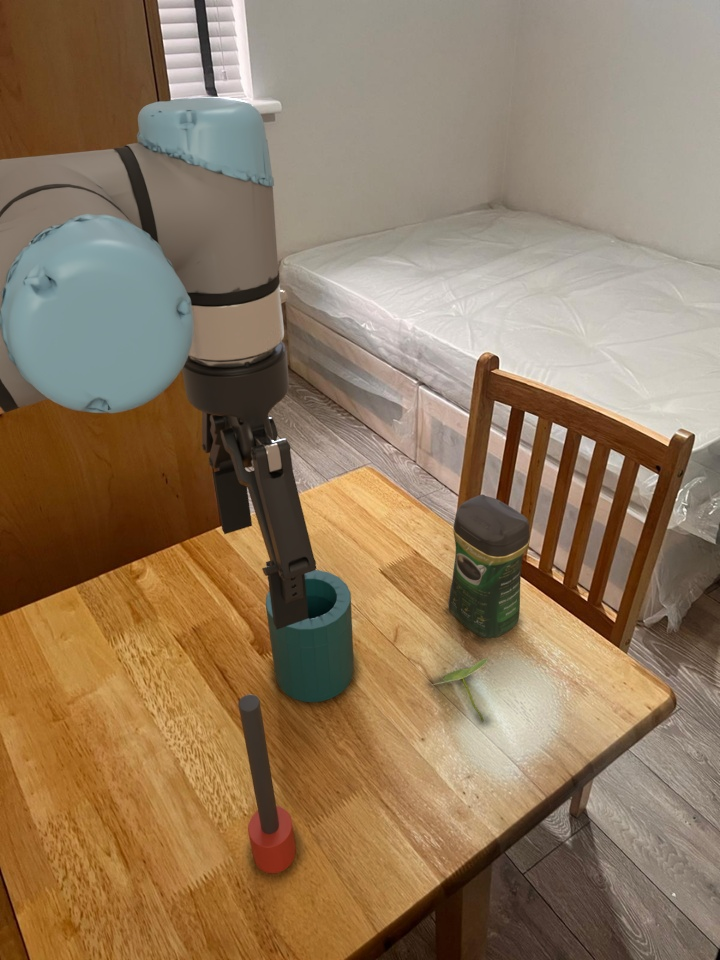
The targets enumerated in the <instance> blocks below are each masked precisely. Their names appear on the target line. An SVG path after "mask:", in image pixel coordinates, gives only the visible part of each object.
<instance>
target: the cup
mask: <svg viewBox="0 0 720 960" xmlns="http://www.w3.org/2000/svg"><path fill="white" fill-rule="evenodd" d="M305 585H306V596H307V608H308V619H305V620H302V621H300V622H297V623H294V624H291V625H289V626H286V627H283V628H280V629H278V630H277V629H276V627H275V625H274V622H273V614H272V606H271V598H270V590H268V592H267V594H266V598H265V612H266V619H267V626H268V631H269V632H268V633H269V641H270V647H271V648H270V649H271V654H272V655H271V656H272V661H273V662H272V663H273V669H274V674H275V679H276V683H277V685H278V687H279V688H280V689H281V691H282V692H283V693H284V694H285V695H287V696H288V697H290V698H292V699H294V700H296V701H300V702H304V703H321V702H325V701H327V700H331V699H333V698H335V697H336V696H338V695H340V694H342V692H344V691H345V690H346V689H347V687H348V686H349V685H350V683H351V681H352V679H353V677H354V672H355V669H354V668H355V667H354V666H355V665H354V663H355V662H354V640H353V639H354V638H353V637H354V636H353V615H352V595H351V591H350V588H349V586H348V585H347V583H346V582H345V581H344V580H342V578H341V577H340V576H337V575H335V574H334V573H331V572H329V571H325V570H321V569H316V570H314V571H311V572H308V573H306V574H305Z"/></svg>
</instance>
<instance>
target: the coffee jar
mask: <svg viewBox="0 0 720 960" xmlns="http://www.w3.org/2000/svg"><path fill="white" fill-rule="evenodd" d="M454 517H455V518H454V522H453V527H452V532H453V539H454V543H455V544H454V545H455V555H454V563H453V571H452V572H453V573H452V579H451V585H450V590H449V598H448V610H449V612H450V613H451V615H452V616H453V618H455V619H456V620H457V621H458V622H459V623H460V624H461V625H463V626H464V627H465V628H467V630H469V631H470V632H472V633H473V634H475V635H476V636H478V637H481V638H483V639H495V638H499V637H502V636H503V635H505V634H508V632H510V631H512V630H513V629H514V628H515V627H516V626H517V624H518V623H519V620H520V619H519V618H520V610H521V609H520V608H521V579H522V564H523V563H522V562H523V556H524V554H525V553H526V551H527V549H528V547H529V544H530V521H529V519H528V517H526V516H525V515H524V514H522V513H521V512H519V511H517V510H516V509H515V508H513V507H511V506H510V505H508V504H506V503H505V502H503V501H502V500H500V499H498V498H495V497H492V496H488V495H485V494H483V493H481V494H479V495H476V496H474V497H472V498H469V499H468V500H466V501H464V502H462V503H461V504H460V505H459V507H458V509H457V510H456V513H455V516H454Z"/></svg>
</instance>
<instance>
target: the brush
mask: <svg viewBox="0 0 720 960" xmlns="http://www.w3.org/2000/svg"><path fill="white" fill-rule="evenodd" d="M260 701H261V700H260V698H259V697H258V696H257V695H256V694H245V695H243V696H242V697H241V698H240V699H239V701H238V710H239V715H240V721H241V727H242V732H243V738H244V743H245V748H246V755H247V759H248V764H249V770H250V776H251V780H252V786H253V791H254V797H255V801H256V802H255V803H256V809H257V811H256V812H254V813H253V815H252V816H251V818H250V819H249V822H248V825H247V826H248V827H247V828H248V829H247V832H248V837H249V838H248V839H249V843H250V847H251V853H252V858H253V861H254V863H255V865H256V867H257V868H258V869H259V870H260V871H262V872H264V873H267V874H278V873H281V872H283V871H285V870H286V869H287V868H288V867H290V866H291V865H292V863H293V862H294V860H295V857H296V853H297V847H296V839H295V833H294V832H295V831H294V825H293V820H292V816H291V815H290V813H289V812H288V810H286V809H285V808H283V807H281V806H279V805H277V802H276V797H275V789H274V784H273V776H272V771H271V763H270V758H269V752H268V745H267V738H266V733H265V726H264V720H263V714H262V708H261V702H260Z"/></svg>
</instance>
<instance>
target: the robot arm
mask: <svg viewBox="0 0 720 960" xmlns="http://www.w3.org/2000/svg"><path fill="white" fill-rule="evenodd" d="M137 126H138V132H137V134H136V139H137V142H134V143H129V144H125V145H124V146H120V147H114V148H109V149H101V150H100V149H99V150H87V151H79V152H78V151H77V152H69V153H56V154H47V155H46V154H45V155H37V156H27V157H26V156H25V157H24V156H23V157H16V158H4V159H0V415H4V414H6V413H8V412H12V411H16V410H17V409H21V408H24V407H27V406H31V405H35V404H37V403H40V402H43V401H45V400H50V401H51V402H53V403H55V404H56V405H59V406H62V407H63V408H66V409H69V410H73V411H77V412H86V413H93V414H107V413H108V414H117V413H118V414H119V413H123V412H126V411H127V412H128V411H130V410H134V409H136V408H139V407H141V406H144V405H146V404H147V403H149V402H151V401H152V400H154V399H156V398H157V397H159V395H161V394H163V392H164V391H165V390H166V389H168V388H169V387H170V386H171V385H172V383H173V382H174V381H175V380H176V379H177V377H178V376H179V374H181V373H182V378H183V379H182V380H183V384H184V385H183V386H184V390H185V396H186V399H187V401H188V402H189V404H190V405H192V407H194V409H197V410H198V411H200V412H201V416H202V417H201V420H202V421H201V431H202V432H201V436H202V438H201V439H202V441H201V443H202V444H201V448H202V450H203V451H204V453H205V454H209V455H208V456H209V457H208V463H209V466H210V467H211V469H212V470H216V471H213V472H212V477H213V482H214V483H213V484H214V488H215V489H214V490H215V495H216V500H217V507H218V513H219V517H220V525H221V530H222V533H223V534H224V535H226V534H230V533H234V532H236V531H240V530H243V529H247V528H250V527H252V526H253V521H252V513H251V506H250V502H249V501H251V504H252V507H253V510H254V513H255V516H256V520H257V523H258V526H259V529H260V533H261V536H262V539H263V542H264V545H265V549H266V552H267V556H268V559H269V560H267V561H265V565H266V566H264V567H262V568H261V570H262V572H263V574H264V576H266V577H267V581H268V582H267V583H268V589H269V590H270V598H271V606H272V614H273V622H274V625H275V627H276V629H277V630H278V629H280V628H283V627H286V626H289V625H291V624H294V623H297V622H300V621H302V620H305V619H308V608H307V596H306V585H305V574H306V573H308V572H311V571H314V570H317V561H316V559H315V556H314V552H313V547H312V544H311V540H310V536H309V531H308V528H307V524H306V519H305V515H304V511H303V507H302V502H301V499H300V494H299V491H298V486H297V482H296V478H295V475H294V469H293V459H292V455H291V454H292V453H291V444H290V443H289V442H288V440H287V439H286V437H285V438H281V439H278V436H279V434H278V429H277V427H276V424H275V420H274V418H273V417H269V413H270V412H271V410H272V409H273V408H274V407H275V406H276V405H277V404H279V403H280V402H282V400H283V399H284V398H285V397H286V396H287V394H288V392H289V389H290V376H289V366H288V365H289V364H288V354H287V353H288V352H287V347H286V345H285V343H284V342H283V339H284V336H285V329H284V327H285V325H284V317H283V308H282V304H283V303H285V302H287V300H288V293H287V291H286V290H285V288H281V283H280V282H281V281H280V271H279V262H278V246H277V230H276V229H277V228H276V216H275V204H274V203H275V200H274V186H275V180H274V179H275V178H274V177H273V171H272V165H271V157H270V150H269V143H268V139H267V134H266V128H265V123H264V119H263V117H262V114H261V113H260V111H259V110H258V109H257V108H256V107H255V106H254V105H253V104H252V103H250V102H248V101H246V100H242V99H238V98H234V97H233V98H232V97H223V96H222V97H220V96H201V97H198V96H197V97H183V98H182V97H181V98H174V99H170V100H167V101H155V102H152V103H148V104H147V105H145V106H143V107H142V108H141V110H139V113H138V115H137ZM248 468H253V470H251V471H248V470H247V469H248ZM249 497H250V498H249ZM249 499H250V500H249ZM269 590H268V591H269Z"/></svg>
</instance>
